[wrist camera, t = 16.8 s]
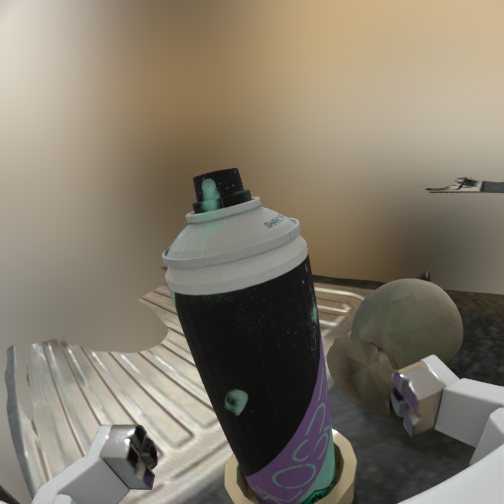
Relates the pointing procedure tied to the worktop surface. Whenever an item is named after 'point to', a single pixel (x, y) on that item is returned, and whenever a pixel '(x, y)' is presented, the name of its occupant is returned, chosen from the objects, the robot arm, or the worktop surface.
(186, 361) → the worktop surface
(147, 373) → the worktop surface
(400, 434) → the worktop surface
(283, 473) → the spray can
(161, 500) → the worktop surface
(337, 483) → the beige base ring
